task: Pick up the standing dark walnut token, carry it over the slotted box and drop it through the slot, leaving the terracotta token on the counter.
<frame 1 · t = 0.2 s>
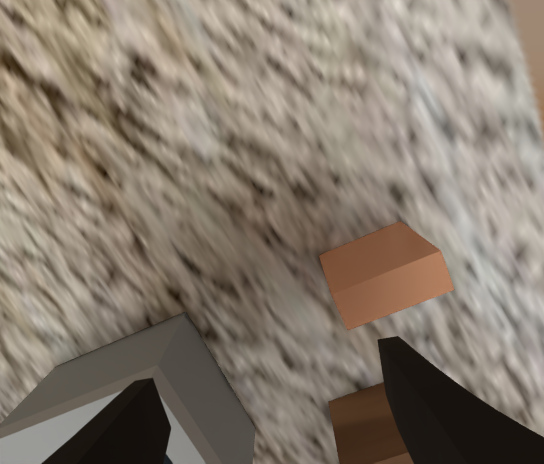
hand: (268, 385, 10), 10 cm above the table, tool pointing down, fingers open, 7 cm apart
walnut token: (368, 400, 22), on the table
coin box: (157, 398, 23), on the table
terracotta token: (364, 253, 19), on the table
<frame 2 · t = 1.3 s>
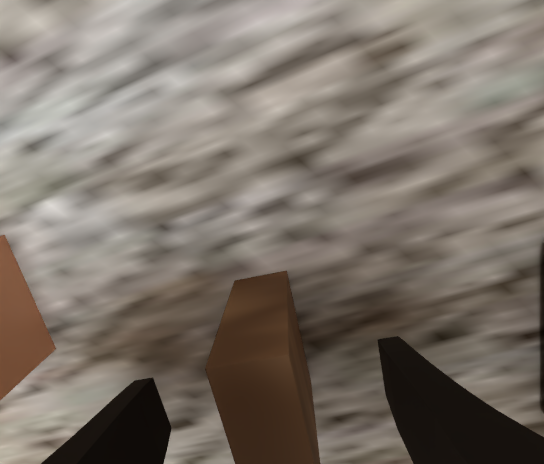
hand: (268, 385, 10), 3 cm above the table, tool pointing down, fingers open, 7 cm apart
walnut token: (274, 332, 13), on the table
terracotta token: (9, 298, 13), on the table
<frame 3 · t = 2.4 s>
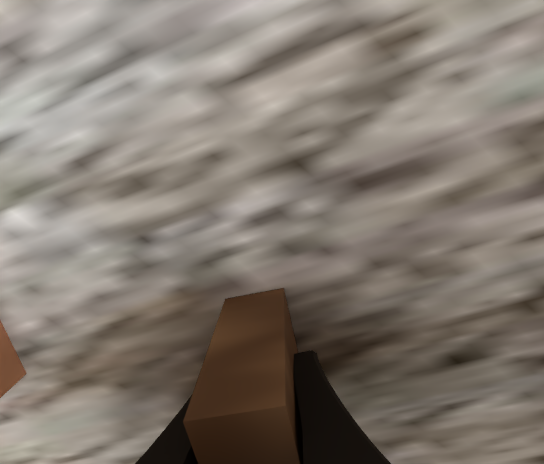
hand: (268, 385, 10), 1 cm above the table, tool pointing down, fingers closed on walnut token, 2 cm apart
walnut token: (270, 356, 12), on the table, touching gripper
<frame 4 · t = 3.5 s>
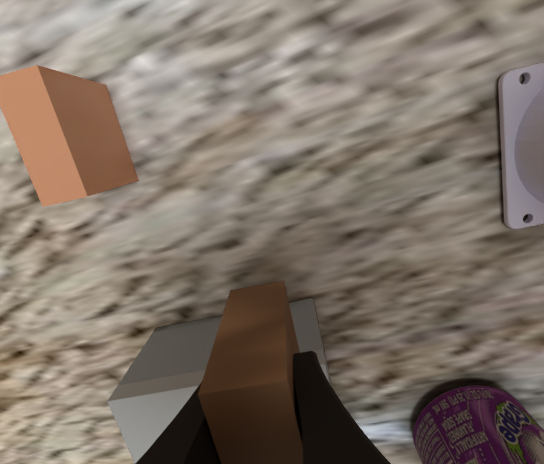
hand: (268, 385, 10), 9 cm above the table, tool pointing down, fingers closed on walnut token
walnut token: (271, 343, 13), point 7 cm above the table, touching gripper
coin box: (252, 380, 22), on the table
beverage can: (461, 418, 22), on the table
terracotta token: (105, 139, 18), on the table
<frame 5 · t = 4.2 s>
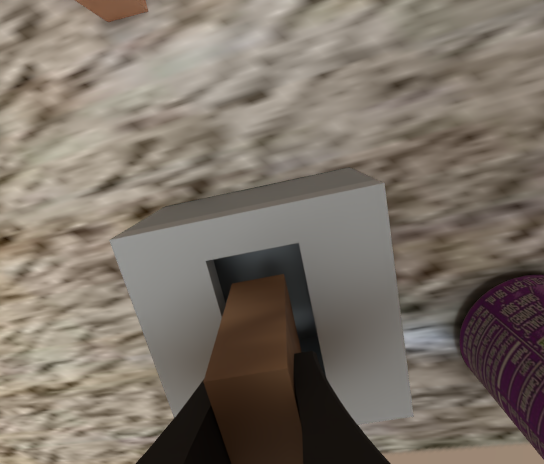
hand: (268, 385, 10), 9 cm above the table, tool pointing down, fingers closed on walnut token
walnut token: (271, 334, 13), point 6 cm above the table, touching gripper
coin box: (274, 273, 19), on the table
beverage can: (512, 323, 19), on the table
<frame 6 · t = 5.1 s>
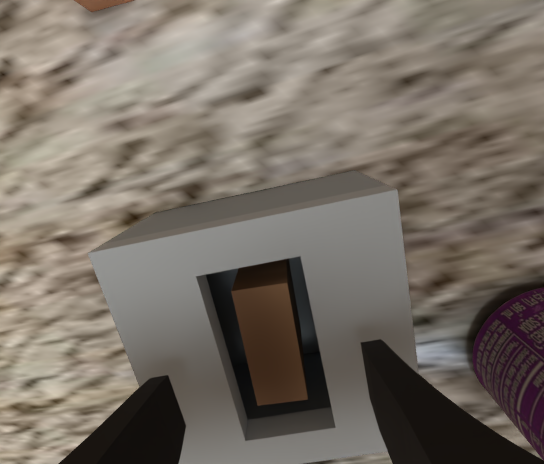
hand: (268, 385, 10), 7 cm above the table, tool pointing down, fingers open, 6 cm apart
walnut token: (274, 288, 17), resting on coin box
coin box: (273, 284, 17), on the table
beverage can: (528, 337, 18), on the table
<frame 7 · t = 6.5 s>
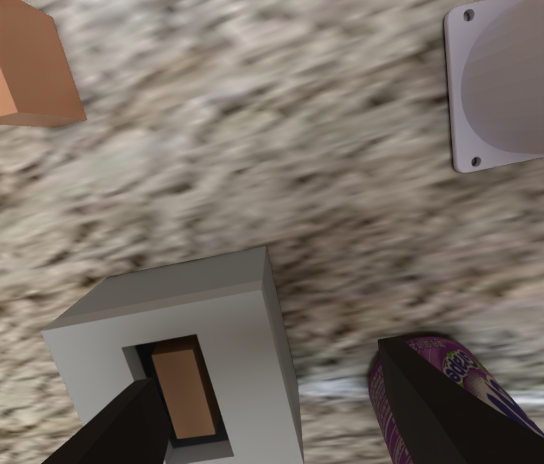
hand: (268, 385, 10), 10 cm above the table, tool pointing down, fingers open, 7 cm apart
walnut token: (206, 337, 21), resting on coin box
coin box: (206, 333, 21), on the table
beverage can: (418, 374, 22), on the table
terracotta token: (52, 74, 17), on the table
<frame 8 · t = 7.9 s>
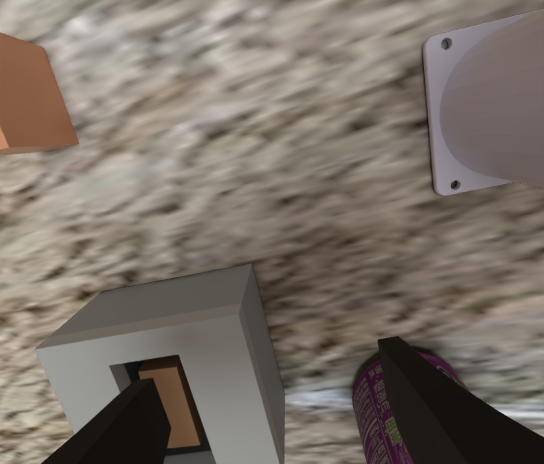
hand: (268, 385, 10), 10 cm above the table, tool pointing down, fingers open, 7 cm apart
walnut token: (195, 349, 22), resting on coin box
coin box: (196, 344, 22), on the table
beverage can: (401, 387, 23), on the table
terracotta token: (46, 101, 18), on the table
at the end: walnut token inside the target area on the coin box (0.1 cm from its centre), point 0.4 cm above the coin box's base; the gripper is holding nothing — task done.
